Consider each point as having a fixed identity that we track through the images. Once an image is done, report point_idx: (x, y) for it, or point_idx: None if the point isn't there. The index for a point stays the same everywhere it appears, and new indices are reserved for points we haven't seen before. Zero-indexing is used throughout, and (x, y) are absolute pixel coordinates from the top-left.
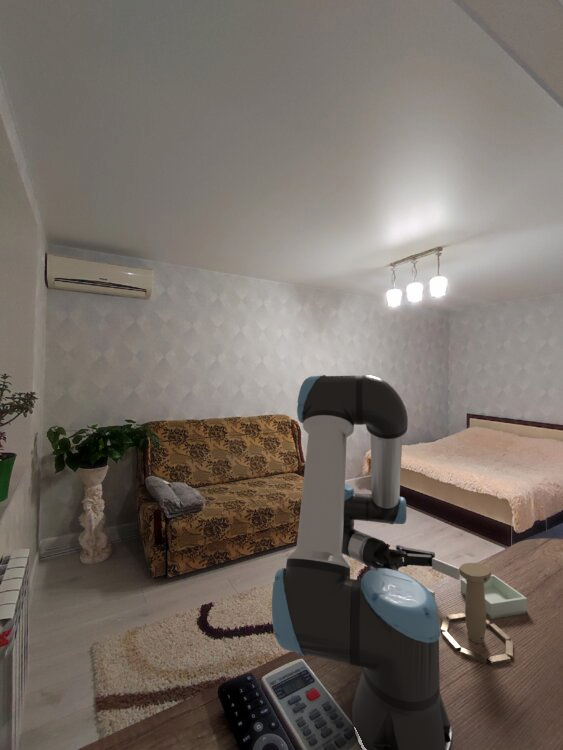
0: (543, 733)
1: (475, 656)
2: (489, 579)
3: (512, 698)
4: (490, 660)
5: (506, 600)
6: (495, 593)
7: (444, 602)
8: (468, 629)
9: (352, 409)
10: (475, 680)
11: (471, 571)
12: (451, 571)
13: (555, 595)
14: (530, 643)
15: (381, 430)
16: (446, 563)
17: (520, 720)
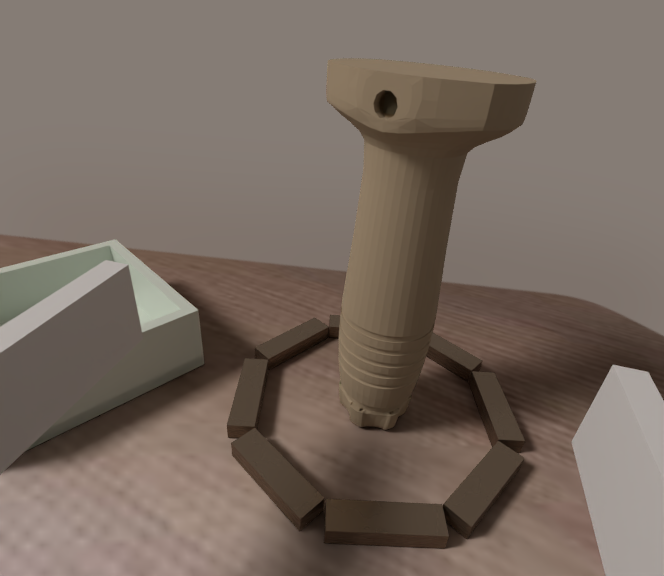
0: (588, 308)
1: (501, 397)
2: None
3: (552, 340)
4: (477, 362)
5: (150, 275)
6: None
7: (116, 562)
8: (407, 394)
9: None
10: None
11: (475, 74)
12: (96, 334)
13: (4, 236)
14: (288, 296)
15: None
16: (31, 319)
17: (603, 333)
